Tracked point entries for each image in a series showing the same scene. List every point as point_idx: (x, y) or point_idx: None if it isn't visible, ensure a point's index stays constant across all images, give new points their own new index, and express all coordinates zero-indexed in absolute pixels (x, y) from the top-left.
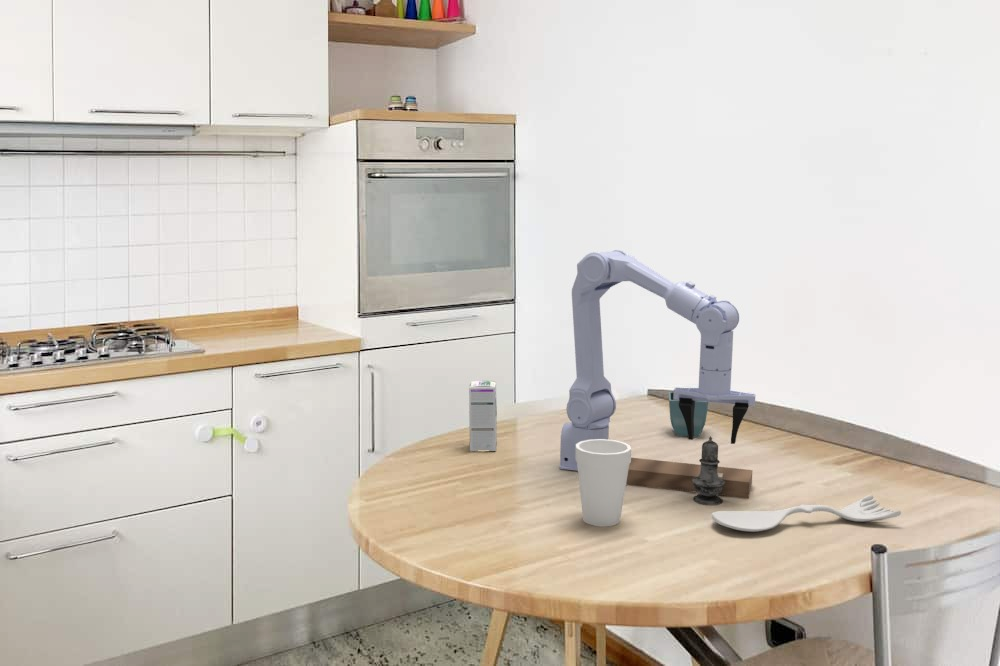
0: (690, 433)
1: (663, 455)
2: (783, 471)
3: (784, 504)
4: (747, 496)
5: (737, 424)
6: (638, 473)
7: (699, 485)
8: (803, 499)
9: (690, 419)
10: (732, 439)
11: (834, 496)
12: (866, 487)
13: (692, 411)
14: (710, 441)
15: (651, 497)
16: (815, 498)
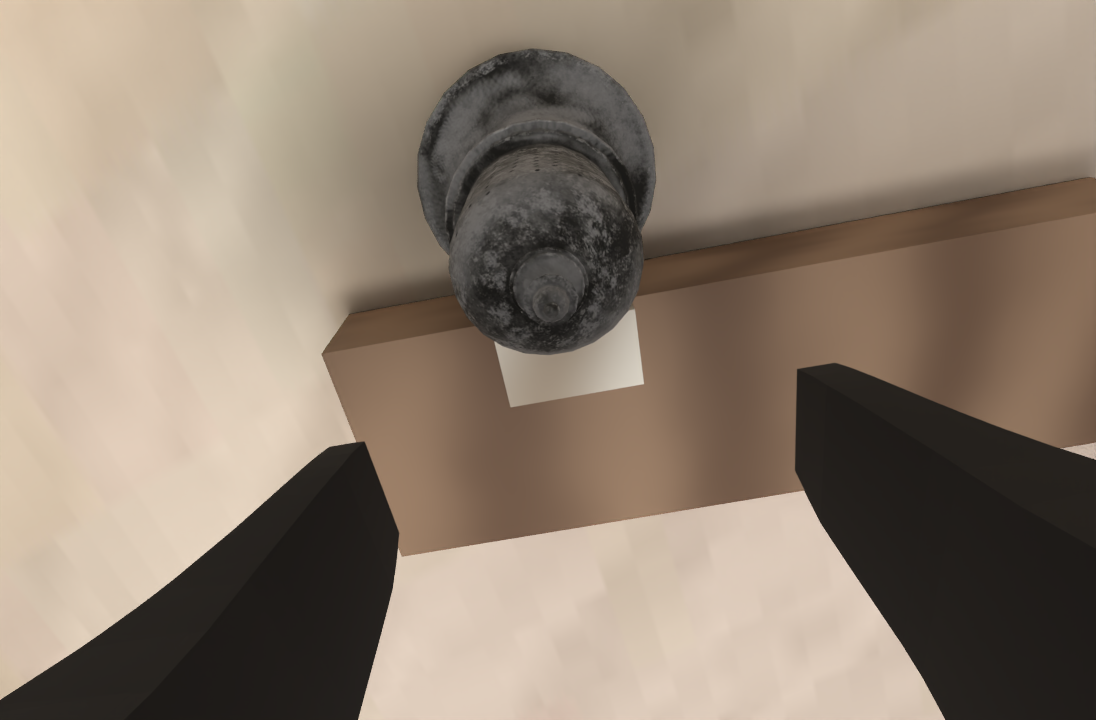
0: (857, 387)
1: (881, 658)
2: (373, 699)
3: (149, 315)
4: (352, 316)
5: (143, 623)
6: (1035, 216)
7: (572, 57)
8: (119, 434)
9: (1020, 496)
10: (327, 466)
11: (38, 536)
12: (13, 682)
13: (1092, 711)
14: (539, 261)
15: (873, 11)
16: (85, 473)
